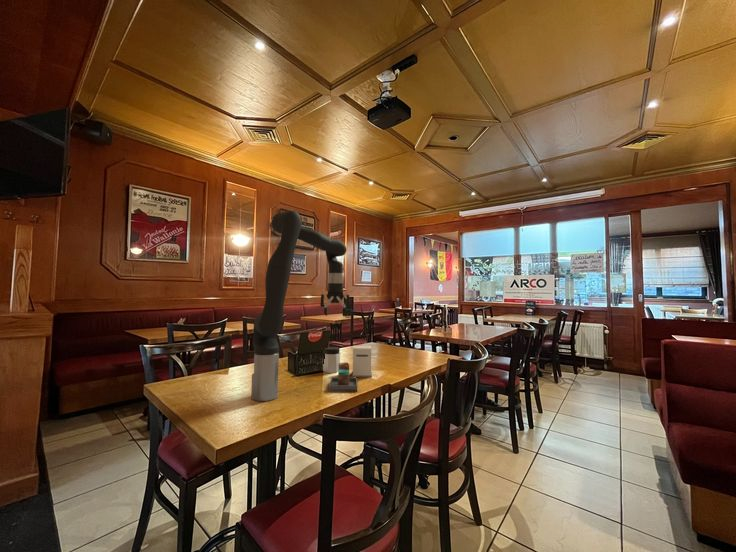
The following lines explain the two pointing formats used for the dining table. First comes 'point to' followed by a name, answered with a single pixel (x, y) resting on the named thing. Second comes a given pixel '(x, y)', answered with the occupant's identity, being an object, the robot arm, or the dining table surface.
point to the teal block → (343, 377)
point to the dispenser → (361, 361)
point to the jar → (331, 360)
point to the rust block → (343, 366)
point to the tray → (343, 388)
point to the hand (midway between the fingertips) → (335, 315)
